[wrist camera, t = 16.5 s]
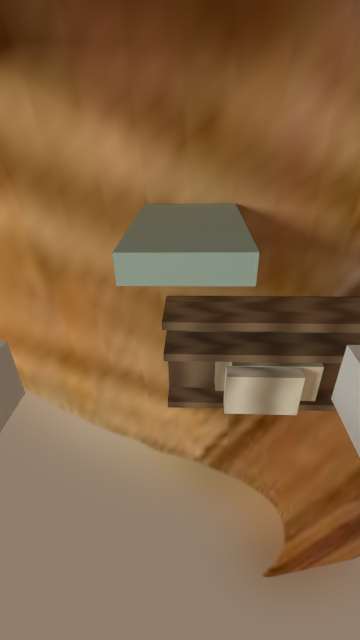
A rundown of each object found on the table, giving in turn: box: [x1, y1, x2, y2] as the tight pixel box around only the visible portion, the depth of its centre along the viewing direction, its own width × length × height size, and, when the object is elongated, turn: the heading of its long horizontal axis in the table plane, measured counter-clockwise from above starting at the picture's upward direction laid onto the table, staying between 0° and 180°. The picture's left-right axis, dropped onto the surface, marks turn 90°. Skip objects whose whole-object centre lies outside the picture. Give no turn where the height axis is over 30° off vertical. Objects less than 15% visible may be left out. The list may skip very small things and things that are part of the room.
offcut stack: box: [215, 362, 324, 415], centre depth 42 cm, size 13×6×6 cm, turn 91°
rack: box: [162, 296, 360, 411], centre depth 42 cm, size 26×15×6 cm, turn 91°
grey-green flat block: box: [112, 204, 260, 286], centre depth 30 cm, size 10×2×16 cm, turn 91°
